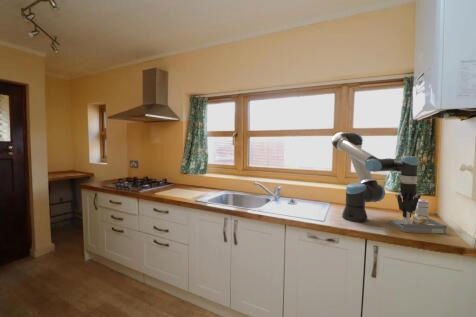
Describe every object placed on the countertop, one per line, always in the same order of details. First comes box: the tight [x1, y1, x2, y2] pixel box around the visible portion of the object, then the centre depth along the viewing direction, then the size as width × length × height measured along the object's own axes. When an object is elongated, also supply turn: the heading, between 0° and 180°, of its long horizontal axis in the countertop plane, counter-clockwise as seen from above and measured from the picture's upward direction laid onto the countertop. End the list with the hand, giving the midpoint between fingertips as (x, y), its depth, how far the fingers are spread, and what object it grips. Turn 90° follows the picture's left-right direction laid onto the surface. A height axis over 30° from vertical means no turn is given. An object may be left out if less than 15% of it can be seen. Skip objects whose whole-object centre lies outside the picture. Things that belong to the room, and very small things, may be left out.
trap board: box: [388, 217, 447, 234], centre depth 134 cm, size 23×14×4 cm, turn 86°
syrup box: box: [414, 198, 430, 218], centre depth 144 cm, size 6×6×14 cm
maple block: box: [412, 215, 428, 225], centre depth 130 cm, size 5×5×5 cm
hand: (406, 222), depth 130 cm, fingers closed
